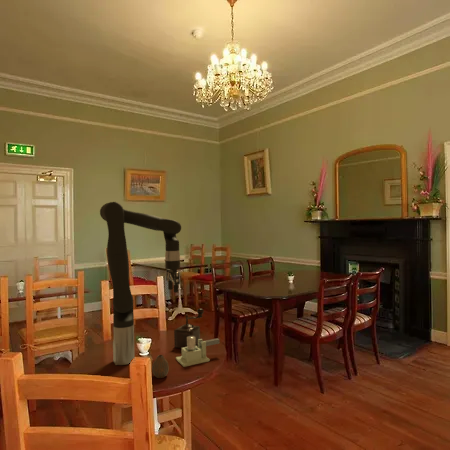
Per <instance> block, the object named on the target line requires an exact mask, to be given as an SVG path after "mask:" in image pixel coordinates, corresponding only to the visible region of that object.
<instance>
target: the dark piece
mask: <svg viewBox="0 0 450 450" xmlns="http://www.w3.org/2000/svg"><path fill="white" fill-rule="evenodd" d="M196 313H197V316H190V317H189V315H188V314H185V324H183V325H180V326H179V327H177V328H175V329H173V338H174V342H173V343H174V345H173V346H174V348H176V349H180V350H182V348H184V347H187V337H188V336H195V341H196V346H197V347H198V339H201V326H199V325H194V324H191V323H189V320H190V319H201V318H203V314H204V313H205V311H204V309H203V308H198V309H196Z"/></svg>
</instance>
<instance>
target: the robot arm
mask: <svg viewBox="0 0 450 450" xmlns="http://www.w3.org/2000/svg"><path fill="white" fill-rule="evenodd" d="M99 215H100V217H101V218H102V220H103V221H105V222H106V226H107V232H108V233H107V234H108V236H107V237H108V238H107V245H106V255H107V264H108V269H109V274H110V278H111V279H110V280H111V282H112V283H111V284H112V308H113V309H112V311H113V312H112V314H113V317H112V319H113V323H112V324H113V325H112V326H113V341H112V356H113V360H112V361H113V363H114V365H115V366H125V365H129V363H130V362H131V360H132V359H133V358H134V359H135V322H134V321H135V320H134V319H135V318H134V296H133V294H132V290H131V286H130V264H129V263H130V261H129V253H128V251H129V250H128V246H127V245H128V244H127V238H126V233H125V224H128V225H134V226H136V227H137V226H138V227H141V228H144V229H148V230H153V231H158V232H163V237H164V241H165V251H164V253H165V254H164V255H165V256H164V258H165V259H164V261H165V263H164V265H165V269H166V270H165V272H166V274H165V275H166V277H165V278H166V281H167V289H168V290H169V291H170V290H173V293H179V285H181V277H180V276H181V275H180V271H178V270H179V269H181V253H180V241H179V239H177V234H179V233H180V232H181V230H182V224H181V222H179V221H177V220H175V219H170V218H164V217H161V216H157V215H154V214H149V213H144V212H137V211H132V210H128V209H125V208H124V207H123V206H122V204H121V203H119V202H117V201H110V202H107V203H105V204H103V205H102V206H101V207H100V209H99ZM130 364H131V363H130Z"/></svg>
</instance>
